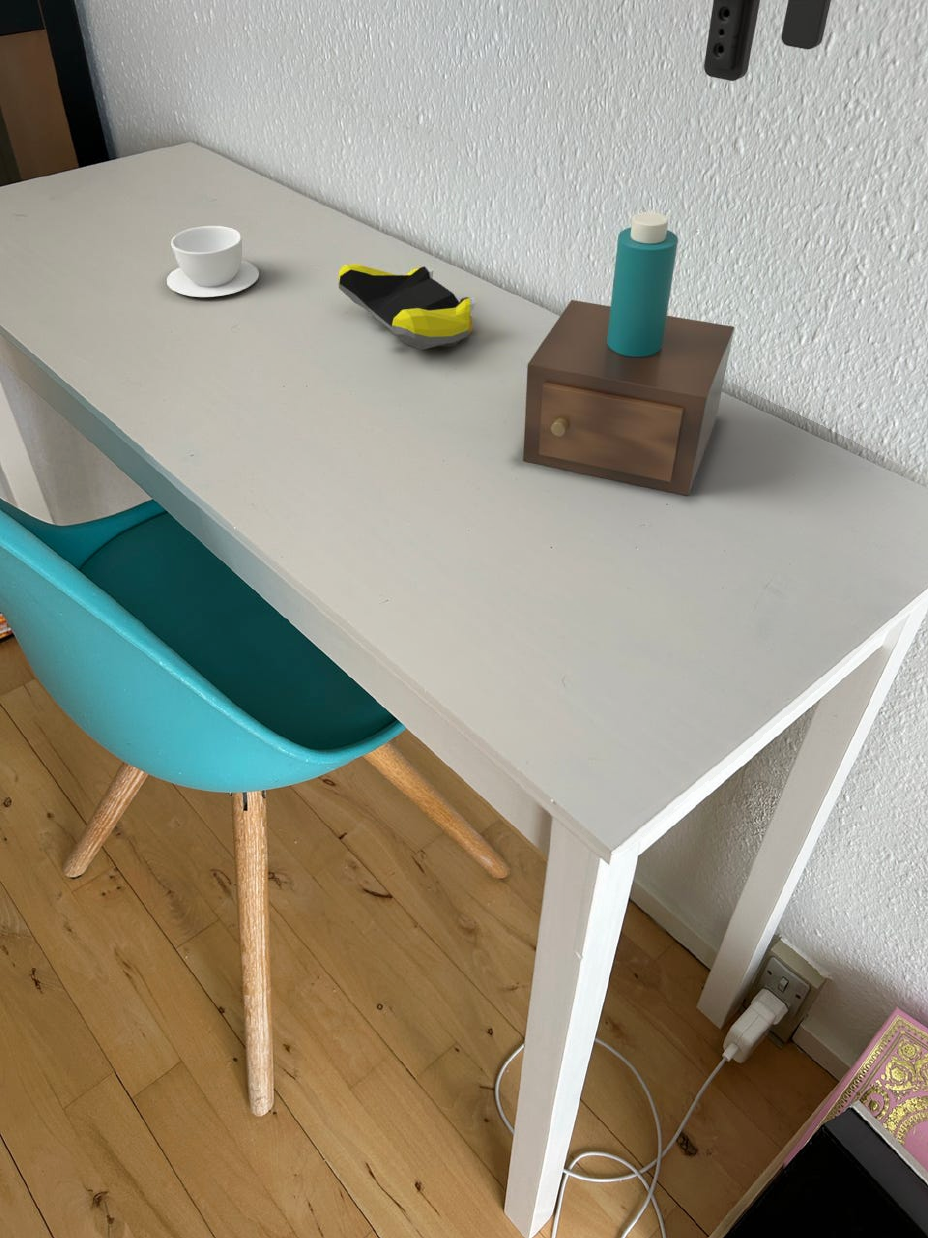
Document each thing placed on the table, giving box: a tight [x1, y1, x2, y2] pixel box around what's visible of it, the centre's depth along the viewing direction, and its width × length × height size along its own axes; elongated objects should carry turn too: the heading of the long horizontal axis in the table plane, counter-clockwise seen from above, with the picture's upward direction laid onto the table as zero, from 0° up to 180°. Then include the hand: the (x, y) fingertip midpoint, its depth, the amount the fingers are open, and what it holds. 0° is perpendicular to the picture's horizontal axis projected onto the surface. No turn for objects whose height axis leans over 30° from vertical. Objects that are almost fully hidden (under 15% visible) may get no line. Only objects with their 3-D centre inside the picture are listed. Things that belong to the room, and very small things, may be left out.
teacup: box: [166, 225, 260, 298], centre depth 106 cm, size 10×10×5 cm
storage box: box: [522, 299, 735, 497], centre depth 81 cm, size 14×13×9 cm
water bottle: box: [607, 211, 679, 357], centre depth 75 cm, size 4×4×10 cm
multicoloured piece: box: [337, 263, 476, 350], centre depth 97 cm, size 15×6×10 cm
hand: (763, 60), depth 54 cm, fingers open, 8 cm apart
